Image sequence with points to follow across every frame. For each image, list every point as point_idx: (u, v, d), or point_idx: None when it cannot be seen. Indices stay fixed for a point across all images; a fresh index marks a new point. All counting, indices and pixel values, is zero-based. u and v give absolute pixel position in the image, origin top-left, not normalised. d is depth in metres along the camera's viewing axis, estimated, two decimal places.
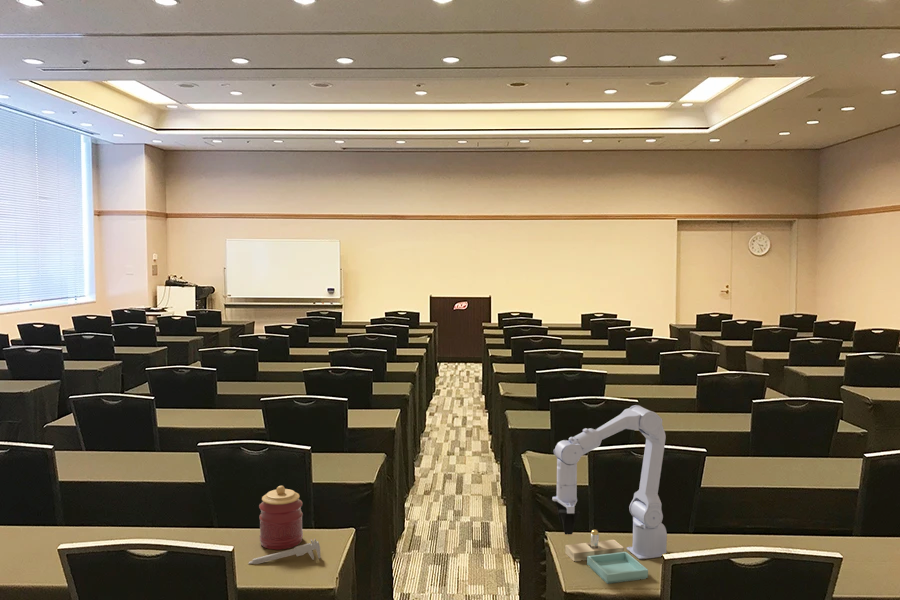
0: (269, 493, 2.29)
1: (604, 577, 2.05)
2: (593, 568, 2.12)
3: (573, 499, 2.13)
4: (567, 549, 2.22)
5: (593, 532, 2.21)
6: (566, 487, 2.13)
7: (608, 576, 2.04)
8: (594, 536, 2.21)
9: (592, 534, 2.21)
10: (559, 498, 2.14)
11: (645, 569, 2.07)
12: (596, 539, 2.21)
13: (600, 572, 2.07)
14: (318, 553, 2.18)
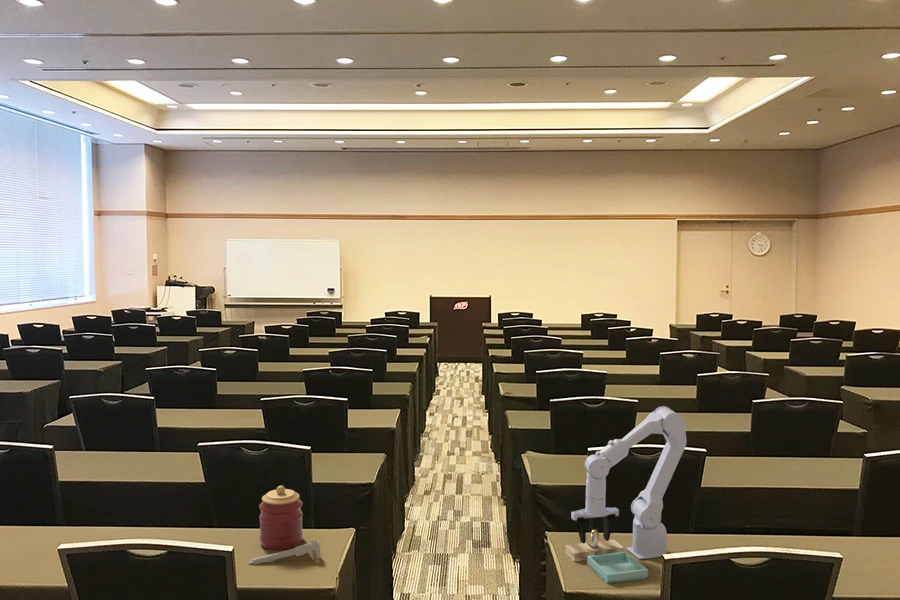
0: (269, 493, 2.29)
1: (604, 577, 2.05)
2: (593, 568, 2.12)
3: (590, 512, 2.19)
4: (567, 549, 2.22)
5: (593, 532, 2.21)
6: (586, 497, 2.21)
7: (608, 576, 2.04)
8: (594, 536, 2.21)
9: (592, 534, 2.21)
10: None
11: (645, 569, 2.07)
12: (596, 539, 2.21)
13: (600, 572, 2.07)
14: (318, 553, 2.18)
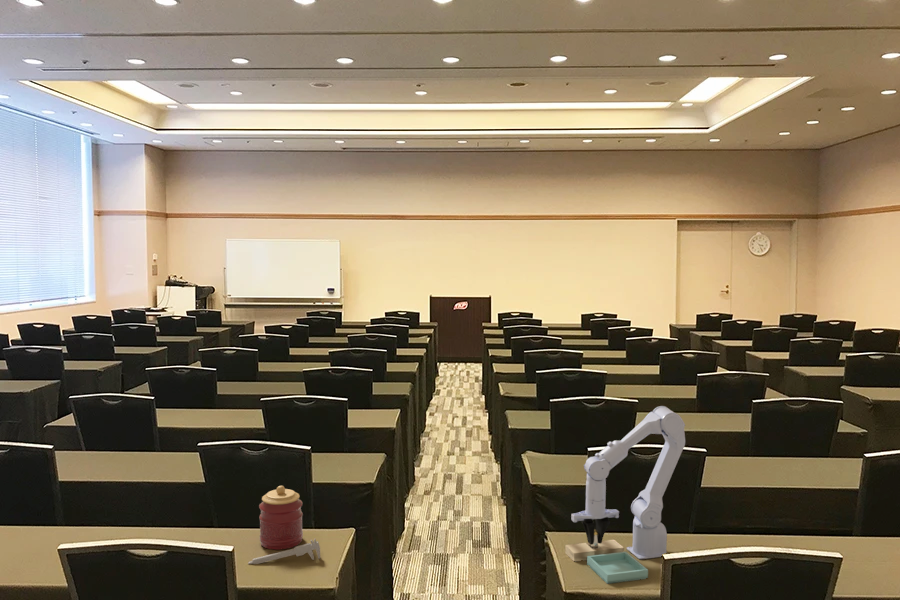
0: (269, 493, 2.29)
1: (604, 577, 2.05)
2: (593, 568, 2.12)
3: (590, 514, 2.19)
4: (567, 549, 2.22)
5: None
6: (586, 499, 2.21)
7: (608, 576, 2.04)
8: (594, 536, 2.21)
9: None
10: None
11: (645, 569, 2.07)
12: (596, 539, 2.21)
13: (600, 572, 2.07)
14: (318, 553, 2.18)
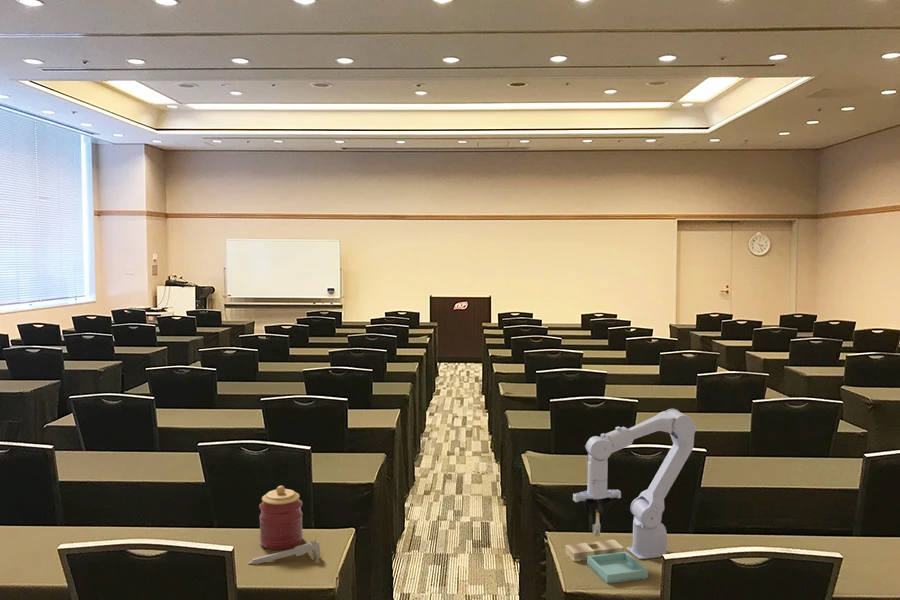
0: (269, 493, 2.29)
1: (604, 577, 2.05)
2: (593, 568, 2.12)
3: (592, 494, 2.18)
4: (567, 549, 2.22)
5: None
6: None
7: (608, 576, 2.04)
8: (596, 516, 2.20)
9: None
10: None
11: (645, 569, 2.07)
12: (598, 519, 2.20)
13: (600, 572, 2.07)
14: (318, 553, 2.18)
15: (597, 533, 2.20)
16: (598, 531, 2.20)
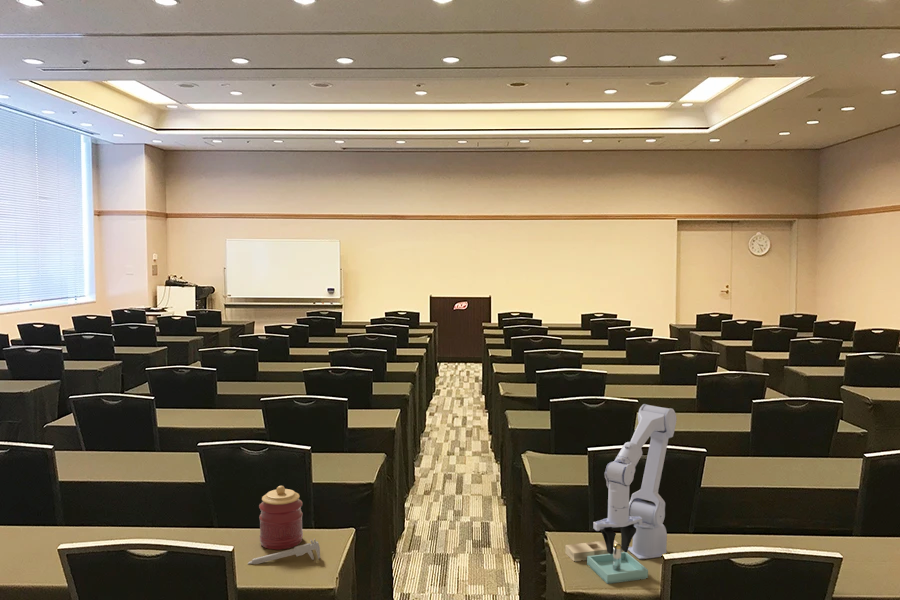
0: (269, 493, 2.29)
1: (604, 577, 2.05)
2: (593, 568, 2.12)
3: (613, 522, 2.08)
4: (567, 549, 2.22)
5: (616, 546, 2.10)
6: (608, 506, 2.09)
7: (608, 576, 2.04)
8: (617, 550, 2.10)
9: (615, 548, 2.10)
10: None
11: (645, 569, 2.07)
12: (619, 553, 2.10)
13: (600, 572, 2.07)
14: (318, 553, 2.18)
15: (618, 567, 2.10)
16: (619, 565, 2.10)
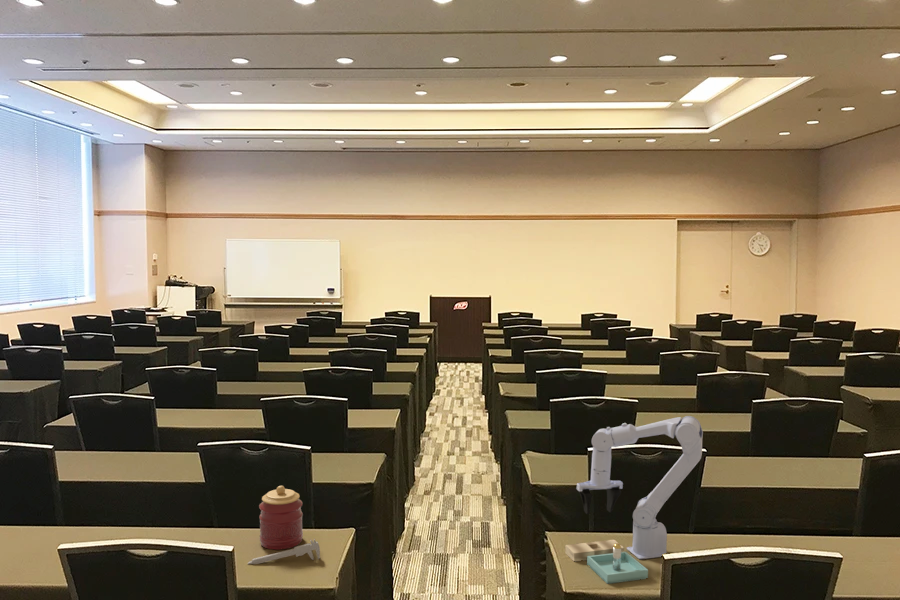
0: (269, 493, 2.29)
1: (604, 577, 2.05)
2: (593, 568, 2.12)
3: (595, 484, 2.25)
4: (567, 549, 2.22)
5: (616, 546, 2.10)
6: (591, 470, 2.27)
7: (608, 576, 2.04)
8: (617, 550, 2.10)
9: (615, 548, 2.10)
10: None
11: (645, 569, 2.07)
12: (619, 553, 2.10)
13: (600, 572, 2.07)
14: (317, 553, 2.18)
15: (618, 567, 2.10)
16: (619, 565, 2.10)
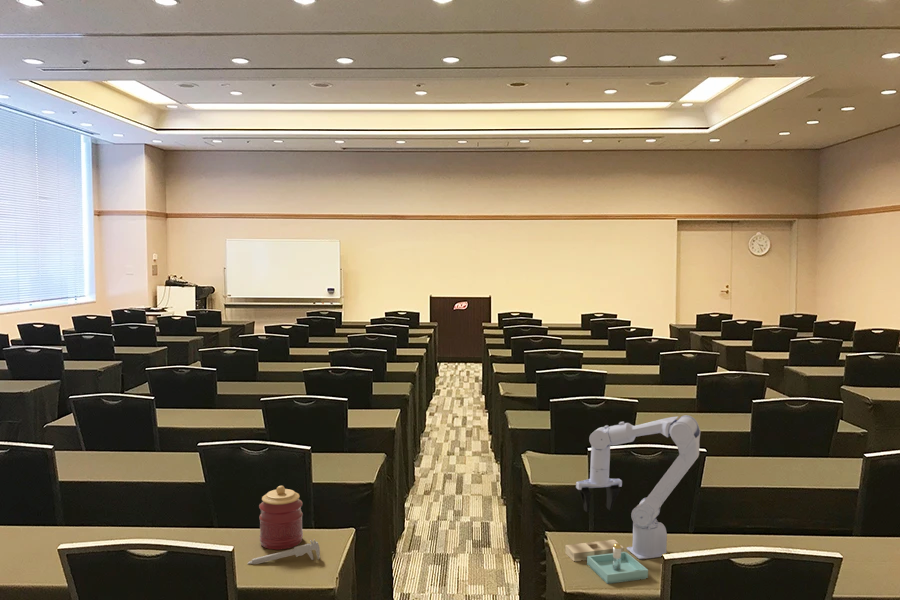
0: (269, 493, 2.29)
1: (604, 577, 2.05)
2: (593, 568, 2.12)
3: (594, 482, 2.27)
4: (567, 549, 2.22)
5: (616, 546, 2.10)
6: (590, 468, 2.28)
7: (608, 576, 2.04)
8: (617, 550, 2.10)
9: (615, 548, 2.10)
10: None
11: (645, 569, 2.07)
12: (619, 553, 2.10)
13: (600, 572, 2.07)
14: (317, 553, 2.18)
15: (618, 567, 2.10)
16: (619, 565, 2.10)
